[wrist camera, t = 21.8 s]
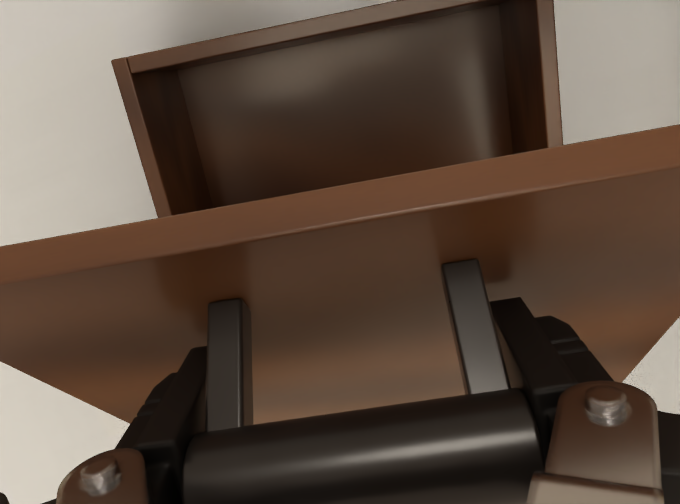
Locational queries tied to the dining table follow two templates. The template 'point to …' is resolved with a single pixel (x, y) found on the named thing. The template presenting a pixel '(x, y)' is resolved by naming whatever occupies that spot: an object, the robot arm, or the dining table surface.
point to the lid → (361, 318)
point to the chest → (342, 99)
